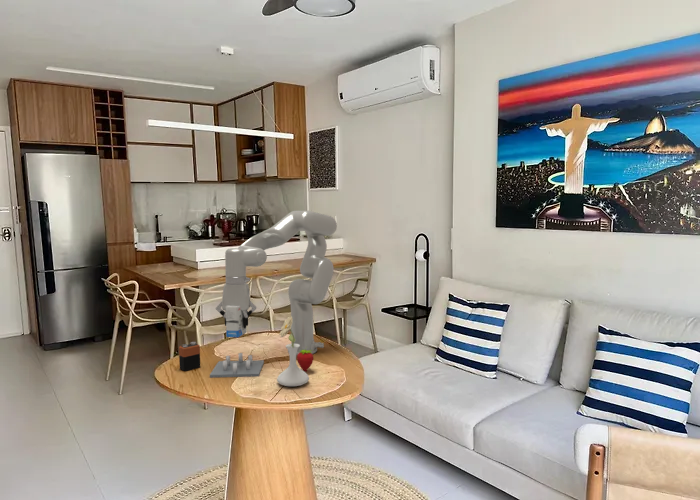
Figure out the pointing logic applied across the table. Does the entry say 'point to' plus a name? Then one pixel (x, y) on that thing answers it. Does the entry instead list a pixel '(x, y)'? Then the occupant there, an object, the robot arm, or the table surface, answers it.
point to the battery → (189, 356)
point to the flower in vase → (291, 361)
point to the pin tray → (237, 367)
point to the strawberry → (305, 359)
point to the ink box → (234, 322)
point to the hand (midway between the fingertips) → (236, 327)
